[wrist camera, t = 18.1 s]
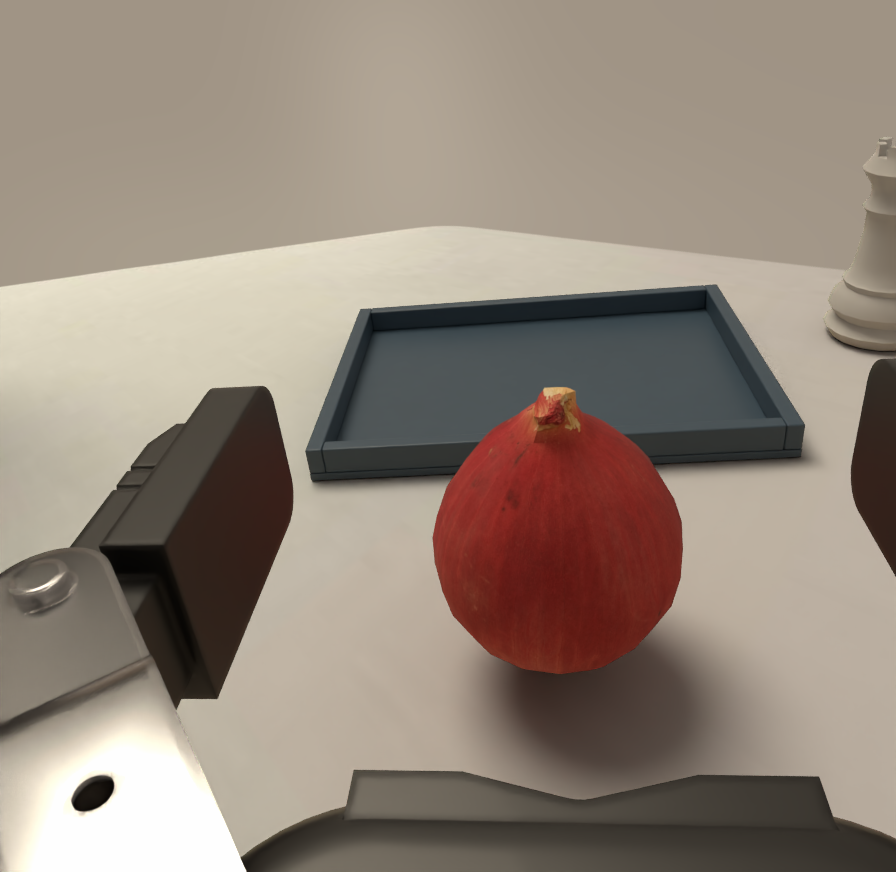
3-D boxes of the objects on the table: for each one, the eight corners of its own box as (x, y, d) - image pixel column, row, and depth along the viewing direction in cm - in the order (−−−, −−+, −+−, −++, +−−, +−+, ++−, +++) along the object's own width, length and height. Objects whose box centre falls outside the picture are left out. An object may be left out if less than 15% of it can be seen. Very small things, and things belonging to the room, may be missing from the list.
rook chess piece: (798, 327, 37) (824, 142, 32) (874, 304, 38) (907, 124, 34) (880, 364, 33) (920, 161, 29) (961, 337, 34) (1010, 139, 30)
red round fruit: (410, 637, 22) (367, 378, 18) (577, 555, 25) (572, 309, 20) (534, 793, 18) (514, 497, 14) (724, 676, 20) (755, 391, 16)
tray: (311, 481, 30) (304, 450, 29) (364, 332, 41) (360, 308, 40) (801, 456, 28) (805, 424, 27) (715, 309, 39) (716, 283, 38)
